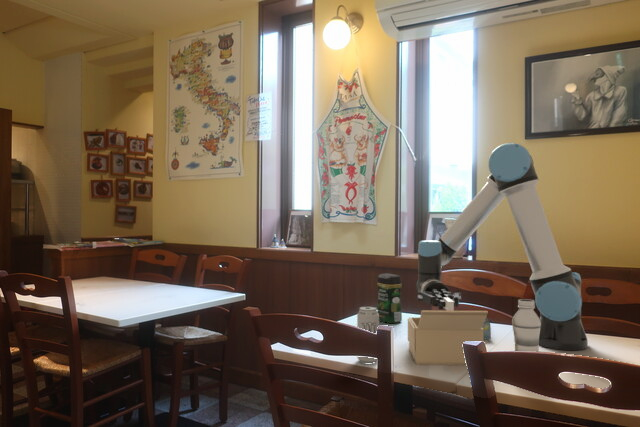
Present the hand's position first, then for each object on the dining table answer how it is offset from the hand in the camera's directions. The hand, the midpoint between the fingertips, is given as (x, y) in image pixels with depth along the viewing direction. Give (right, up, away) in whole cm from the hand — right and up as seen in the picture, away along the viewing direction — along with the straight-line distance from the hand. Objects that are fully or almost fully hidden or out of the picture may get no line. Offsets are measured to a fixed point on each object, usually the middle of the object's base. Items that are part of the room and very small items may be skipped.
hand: (450, 306), depth 126 cm
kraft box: (+1, -17, +13) cm, 21 cm away
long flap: (+1, -4, +2) cm, 5 cm away
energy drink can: (-21, -17, +9) cm, 28 cm away
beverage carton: (+20, -18, +42) cm, 50 cm away
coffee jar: (-7, -18, +61) cm, 64 cm away
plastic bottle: (+16, -17, -8) cm, 25 cm away
